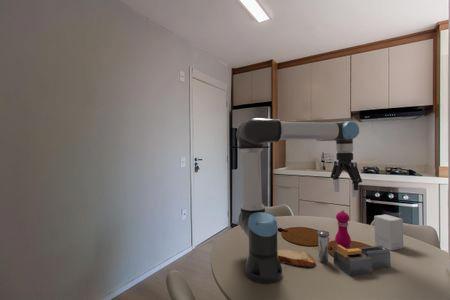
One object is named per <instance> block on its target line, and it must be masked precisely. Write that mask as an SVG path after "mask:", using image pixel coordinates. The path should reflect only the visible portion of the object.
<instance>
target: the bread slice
mask: <svg viewBox="0 0 450 300" xmlns="http://www.w3.org/2000/svg"><path fill="white" fill-rule="evenodd" d="M278 258H279V261H280V263H281V264H282V263H283V264H286V265H291V266H295V267H296V266H297V267H298V266H299V267H307V268H310V267H311V268H312V267H316V266H317V263H316V260H315V259H314V258H313V256H312V255H310V254H309V253H308V252H305V251H300V250H295V249H278Z"/></svg>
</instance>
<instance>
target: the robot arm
mask: <svg viewBox="0 0 450 300" xmlns="http://www.w3.org/2000/svg"><path fill="white" fill-rule="evenodd" d="M359 133H360V127H359V125H358V124H357V123H356V122H354V121H338V122H333V121H332V122H324V121H323V122H318V121H317V122H316V121H281V120H280V119H277V118H265V117H254V118H251V119H248V120H246V121H244V122H242V123H241V124H239V126H238V128H237V129H236V133H235V134H236V139H237V141H238V150H239V152H241V155H242V157H241V159H242V161H241V162H242V191H243V196H242V197H243V200H242V201H243V203H242V204H241V205H240V211H239V212H240V213H239V215H238V223H239V226H240V228H241V230H242V231H243V232H244V234H246V236H247V237H248V256H247V259H246V263H245V266H244V270H245V272H244V273H245V276H246V277H247V278H248V279H249V280H252V281H253V282H255V283H258V284H273V283H274V284H275V283H277V282H279V281H280V280H281V279H282V278H283V268H282V263H281V262H280V261H279V258H278V250H279V249H278V246H279V245H278V229H279V228H278V222H277V219H276V217H275V216H274V215H272V214H270V213H267V212H266V205H264V204H263V203H262V202H263V201H262V199H263V198H262V196H263V195H262V169H261V167H262V166H261V165H262V164H261V162H262V161H261V159H262V158H261V152H262V151H264V144H267V143H268V144H269V143H279V142H280V141H281V140H282V141H285V140H286V141H288V140H290V141H292V140H296V141H297V140H303V141H304V140H307V141H308V140H311V141H312V140H315V141H319V142H331V141H332V142H333V141H334V142H335V143H336V144H335V147H336V149H335V151H336V161H334V162H333V167H332V170H331V174H330V178H331V179H332V180H333V192H334V193H338V192H340V179H339V178H340V176H341V175H342V173H343V172H346V173H347V175H348V176H349V178H350V180H351V198H358V197H359V184H360V183H363V179H362V176H361V175H360V172H359V168H358V164H357V162H353V160H354V153H353V152H354V139H355V138H357V137H358V135H359Z"/></svg>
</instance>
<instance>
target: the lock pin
mask: <svg viewBox="0 0 450 300" xmlns="http://www.w3.org/2000/svg"><path fill="white" fill-rule="evenodd" d="M359 248H360V247H359ZM359 248H358V247H357V248H355V249H346V248H344V247H342V246H341V245H337V248H336V250H337V252H338V253H339V254H341V255H342V256H344V257H348V255H353V254H362V250H361V249H359Z"/></svg>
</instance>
